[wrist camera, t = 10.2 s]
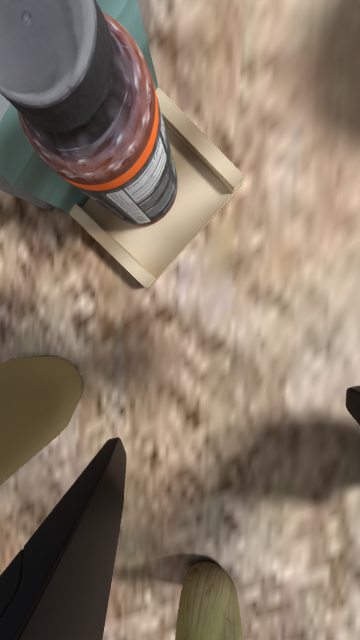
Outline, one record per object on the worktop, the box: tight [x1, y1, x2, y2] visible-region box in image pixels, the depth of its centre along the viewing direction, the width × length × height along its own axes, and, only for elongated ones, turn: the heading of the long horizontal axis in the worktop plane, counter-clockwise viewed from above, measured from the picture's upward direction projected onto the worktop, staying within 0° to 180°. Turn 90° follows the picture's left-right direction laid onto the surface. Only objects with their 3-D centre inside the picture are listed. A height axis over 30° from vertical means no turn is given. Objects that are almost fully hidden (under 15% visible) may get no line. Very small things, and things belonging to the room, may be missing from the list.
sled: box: [0, 0, 245, 287], centre depth 14 cm, size 11×11×7 cm
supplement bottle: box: [0, 0, 178, 226], centre depth 11 cm, size 6×6×11 cm
